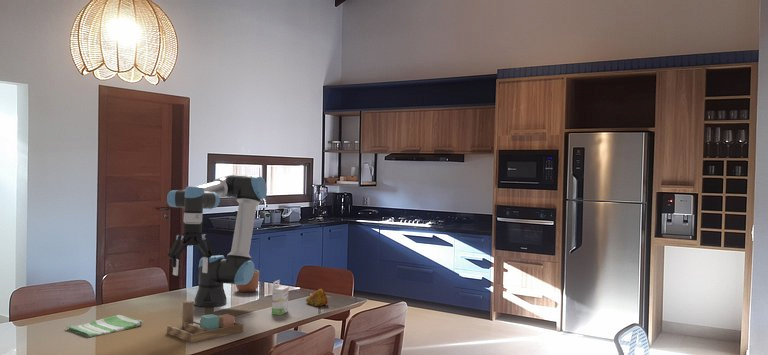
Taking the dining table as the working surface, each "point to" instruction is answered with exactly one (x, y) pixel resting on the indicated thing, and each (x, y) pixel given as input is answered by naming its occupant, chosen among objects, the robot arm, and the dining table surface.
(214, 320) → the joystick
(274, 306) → the ink box
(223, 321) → the terracotta block
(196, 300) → the robot arm
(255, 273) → the planter
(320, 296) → the rock
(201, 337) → the oak lanes
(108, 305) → the dining table surface
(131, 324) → the dish towel
